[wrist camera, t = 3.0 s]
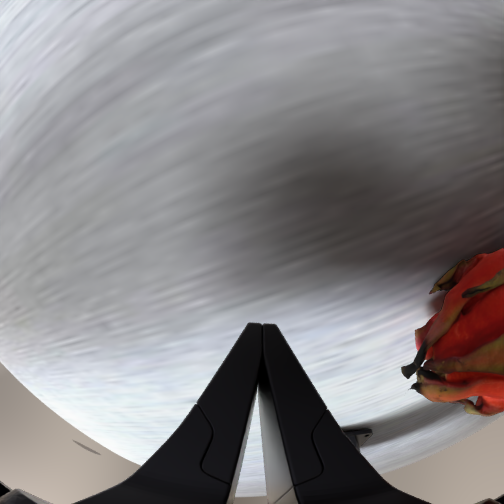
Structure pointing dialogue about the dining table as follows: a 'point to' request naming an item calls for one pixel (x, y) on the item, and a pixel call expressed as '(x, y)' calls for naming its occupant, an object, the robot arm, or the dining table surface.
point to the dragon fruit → (465, 338)
